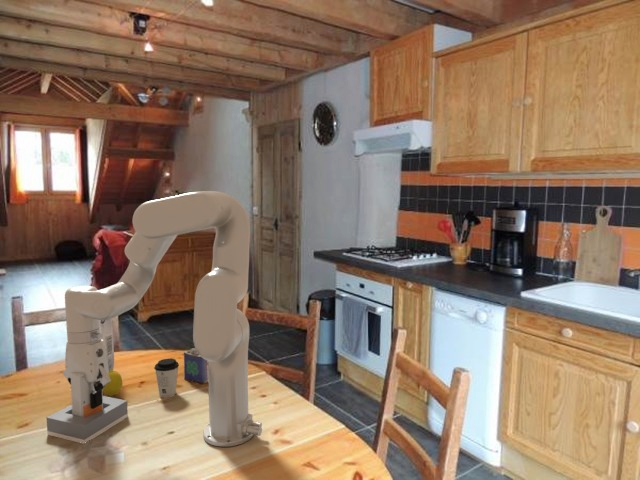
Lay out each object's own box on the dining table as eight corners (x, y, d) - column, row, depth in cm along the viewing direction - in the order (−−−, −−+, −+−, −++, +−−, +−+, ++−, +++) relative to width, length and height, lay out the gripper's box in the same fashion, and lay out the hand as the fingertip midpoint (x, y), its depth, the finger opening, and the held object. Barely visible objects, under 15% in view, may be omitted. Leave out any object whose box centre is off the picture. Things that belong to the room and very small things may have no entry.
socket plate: (127, 416, 122) (127, 400, 122) (84, 443, 109) (83, 426, 109) (93, 409, 126) (92, 393, 126) (47, 434, 113) (46, 417, 113)
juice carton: (89, 368, 156) (85, 290, 153) (118, 369, 154) (114, 291, 151) (71, 378, 147) (66, 296, 144) (102, 380, 145) (97, 297, 142)
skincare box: (82, 422, 114) (79, 375, 112) (72, 417, 116) (69, 372, 115) (104, 412, 119) (102, 367, 117) (94, 408, 121) (92, 364, 120)
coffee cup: (164, 401, 131) (163, 367, 130) (150, 395, 135) (149, 362, 134) (184, 393, 136) (183, 360, 135) (170, 387, 141) (169, 355, 140)
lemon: (115, 401, 131) (113, 374, 130) (98, 400, 132) (96, 373, 131) (126, 393, 136) (125, 367, 135) (110, 391, 137) (109, 366, 136)
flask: (209, 382, 144) (208, 349, 143) (203, 385, 142) (202, 352, 141) (188, 376, 149) (187, 344, 148) (181, 379, 146) (180, 347, 145)
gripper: (122, 334, 116) (125, 403, 118) (71, 327, 122) (75, 393, 123) (98, 344, 109) (102, 417, 111) (46, 336, 115) (50, 405, 116)
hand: (88, 403), depth 117 cm, fingers closed on skincare box, 4 cm apart
